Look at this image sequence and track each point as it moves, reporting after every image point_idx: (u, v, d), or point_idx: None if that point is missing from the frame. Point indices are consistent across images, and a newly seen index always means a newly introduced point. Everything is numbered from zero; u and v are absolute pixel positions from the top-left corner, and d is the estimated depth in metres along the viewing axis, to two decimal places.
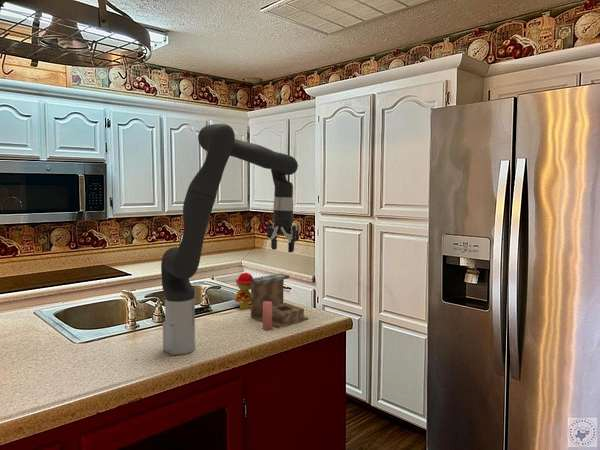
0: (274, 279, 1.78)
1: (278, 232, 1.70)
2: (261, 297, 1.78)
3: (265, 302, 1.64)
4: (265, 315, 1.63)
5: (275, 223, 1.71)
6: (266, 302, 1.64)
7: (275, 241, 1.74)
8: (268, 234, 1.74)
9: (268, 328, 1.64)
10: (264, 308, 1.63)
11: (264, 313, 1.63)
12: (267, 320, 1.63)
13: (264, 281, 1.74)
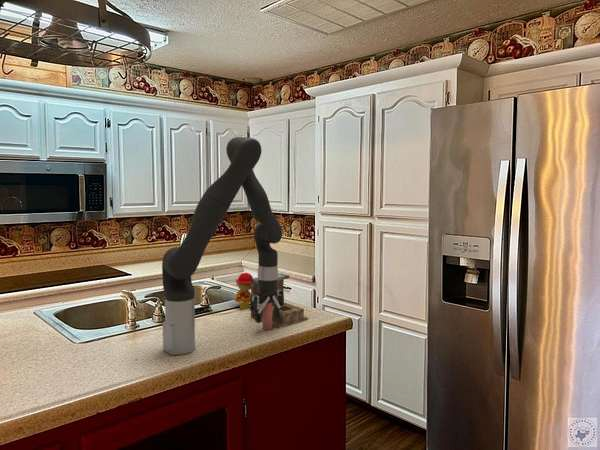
0: None
1: (266, 302, 1.63)
2: None
3: None
4: (265, 315, 1.63)
5: (263, 294, 1.61)
6: None
7: None
8: (255, 309, 1.59)
9: (268, 328, 1.64)
10: (264, 308, 1.63)
11: (264, 313, 1.63)
12: (267, 320, 1.63)
13: None
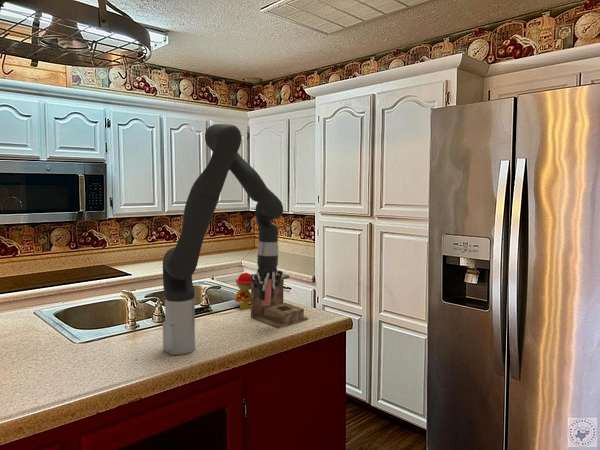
0: None
1: (268, 277, 1.62)
2: None
3: None
4: None
5: (262, 270, 1.60)
6: None
7: None
8: (260, 286, 1.60)
9: (267, 304, 1.63)
10: None
11: None
12: (266, 296, 1.62)
13: None
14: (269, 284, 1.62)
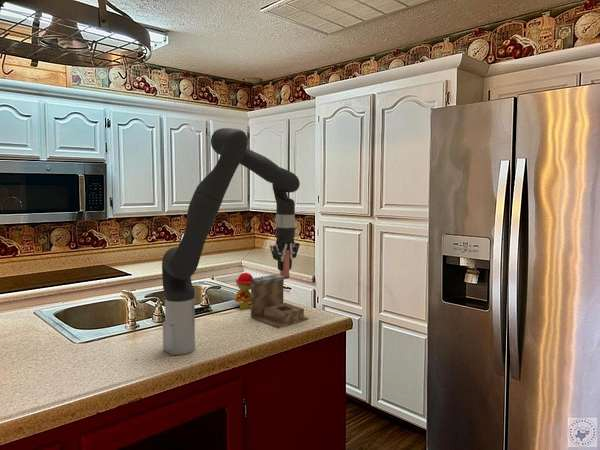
0: (274, 279, 1.78)
1: (286, 249, 1.71)
2: (261, 297, 1.78)
3: None
4: None
5: (280, 241, 1.68)
6: None
7: None
8: (278, 256, 1.68)
9: (286, 274, 1.71)
10: None
11: None
12: (284, 266, 1.71)
13: (264, 281, 1.74)
14: (287, 255, 1.71)
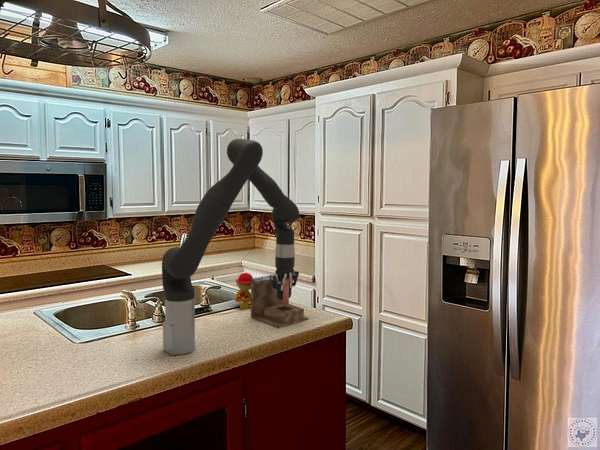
0: None
1: (285, 278, 1.72)
2: (261, 297, 1.78)
3: None
4: (283, 291, 1.72)
5: (280, 271, 1.70)
6: None
7: None
8: (278, 286, 1.70)
9: (285, 303, 1.73)
10: None
11: None
12: (284, 295, 1.72)
13: (264, 281, 1.74)
14: (287, 284, 1.72)
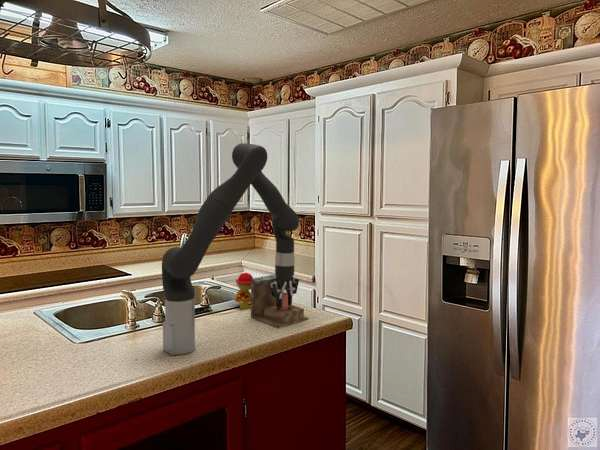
0: (274, 279, 1.78)
1: (285, 286, 1.72)
2: (261, 297, 1.78)
3: None
4: (282, 306, 1.72)
5: (280, 279, 1.70)
6: (282, 294, 1.73)
7: None
8: (277, 294, 1.70)
9: None
10: None
11: None
12: (283, 310, 1.73)
13: (264, 281, 1.74)
14: (286, 299, 1.72)
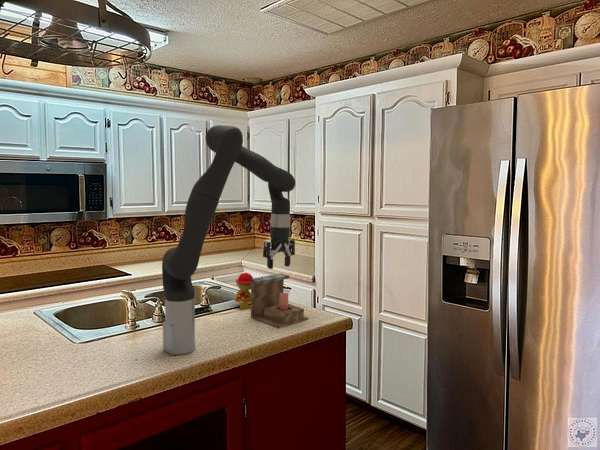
0: (274, 279, 1.78)
1: (278, 249, 1.69)
2: (261, 297, 1.78)
3: (281, 293, 1.74)
4: (282, 306, 1.73)
5: (275, 241, 1.67)
6: (282, 293, 1.73)
7: None
8: (268, 254, 1.65)
9: None
10: (281, 299, 1.73)
11: (281, 304, 1.73)
12: (283, 310, 1.73)
13: (264, 281, 1.74)
14: (286, 299, 1.73)
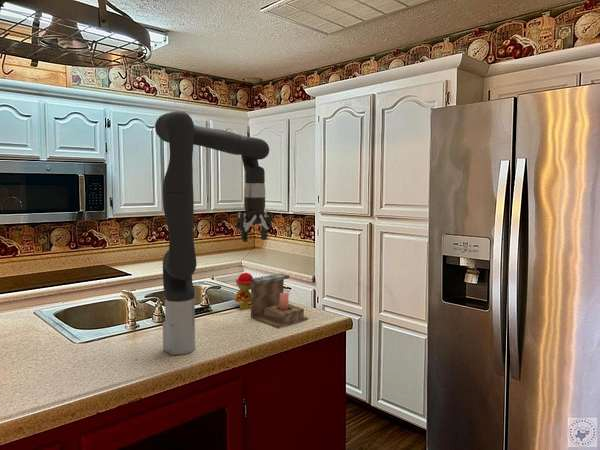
0: (274, 279, 1.78)
1: (253, 221, 1.59)
2: (261, 297, 1.78)
3: (282, 293, 1.74)
4: (282, 306, 1.73)
5: (250, 212, 1.57)
6: (283, 293, 1.73)
7: None
8: (242, 226, 1.55)
9: None
10: (281, 299, 1.73)
11: (281, 304, 1.73)
12: (283, 310, 1.73)
13: (264, 281, 1.74)
14: (286, 299, 1.73)
